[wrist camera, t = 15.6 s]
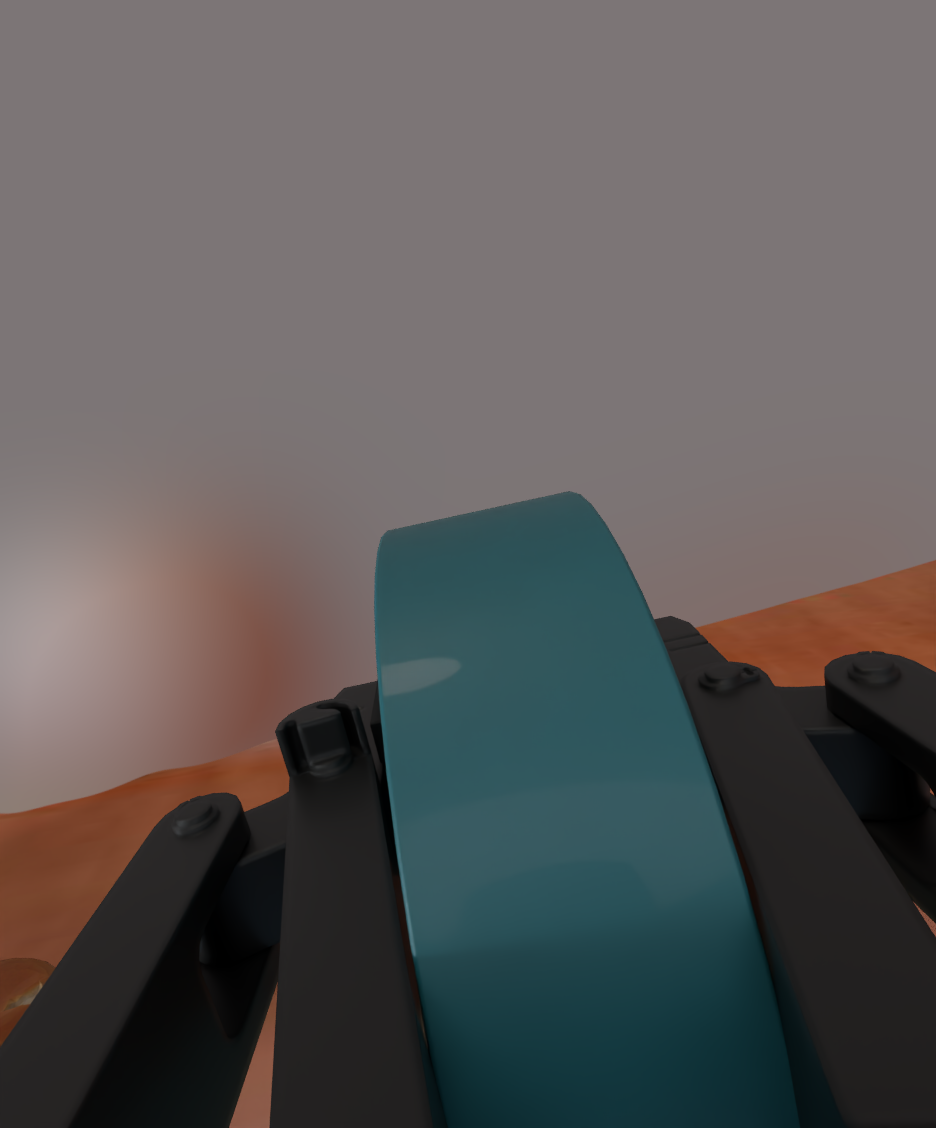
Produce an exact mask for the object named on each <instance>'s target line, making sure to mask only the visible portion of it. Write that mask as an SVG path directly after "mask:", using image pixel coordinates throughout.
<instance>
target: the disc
mask: <svg viewBox="0 0 936 1128" xmlns="http://www.w3.org/2000/svg"><path fill="white" fill-rule="evenodd" d="M374 614H375V643H376V660H377V675H378V689H379V703H380V714H381V724H382V734H383V743H384V753H385V763H386V773H387V781H388V789H389V797H390V805H391V813H392V821H393V829H394V837H395V845H396V852H397V859H398V866H399V873H400V880H401V886H402V893H403V900H404V906H405V913H406V920H407V927H408V933H409V940H410V946H411V952H412V958H413V964H414V969H415V975H416V981H417V987H418V993H419V999H420V1005H421V1010H422V1016H423V1022H424V1028H425V1034H426V1039H427V1044H428V1049H429V1054H430V1058H431V1063H432V1067H433V1071H434V1075H435V1079H436V1083H437V1087H438V1091H439V1095H440V1099H441V1103H442V1107H443V1111H444V1115H445V1119H446V1123H447V1127H448V1128H800V1124H799V1118H798V1112H797V1106H796V1100H795V1094H794V1089H793V1083H792V1077H791V1071H790V1065H789V1059H788V1053H787V1048H786V1043H785V1038H784V1032H783V1027H782V1022H781V1017H780V1011H779V1006H778V1002H777V997H776V993H775V988H774V983H773V979H772V975H771V971H770V967H769V963H768V959H767V956H766V952H765V948H764V945H763V941H762V938H761V934H760V931H759V927H758V924H757V920H756V916H755V913H754V909H753V906H752V902H751V899H750V895H749V891H748V888H747V884H746V881H745V877H744V874H743V870H742V867H741V864H740V861H739V857H738V854H737V851H736V848H735V845H734V841H733V838H732V835H731V832H730V829H729V825H728V822H727V819H726V816H725V813H724V809H723V806H722V803H721V800H720V797H719V793H718V790H717V787H716V784H715V781H714V778H713V775H712V772H711V770H710V767H709V764H708V761H707V758H706V755H705V752H704V749H703V746H702V744H701V741H700V738H699V735H698V732H697V729H696V726H695V723H694V720H693V718H692V715H691V712H690V709H689V706H688V704H687V701H686V699H685V696H684V693H683V691H682V688H681V686H680V683H679V680H678V678H677V675H676V673H675V670H674V667H673V665H672V662H671V660H670V657H669V654H668V652H667V649H666V647H665V644H664V642H663V639H662V637H661V635H660V633H659V630H658V628H657V626H656V623H655V621H654V619H653V616H652V614H651V612H650V609H649V607H648V605H647V602H646V600H645V598H644V595H643V593H642V591H641V589H640V587H639V585H638V583H637V581H636V579H635V577H634V575H633V573H632V571H631V569H630V567H629V565H628V562H627V561H626V559H625V556H624V554H623V553H622V551H621V549H620V547H619V546H618V544H617V542H616V540H615V539H614V537H613V535H612V534H611V532H610V530H609V528H608V527H607V525H606V524H605V522H604V521H603V519H602V518H601V517H600V515H599V514H598V513H597V511H596V510H595V509H594V507H593V506H592V505H591V503H589V502H588V501H587V500H586V499H585V498H584V497H583V496H582V495H581V494H577V493H574V492H570V491H569V492H564V493H559V494H555V495H550V496H546V497H541V498H536V499H532V500H527V501H522V502H518V503H513V504H509V505H504V506H499V507H495V508H490V509H485V510H481V511H476V512H472V513H467V514H463V515H458V516H453V517H449V518H444V519H439V520H435V521H431V522H426V523H421V524H416V525H412V526H407V527H403V528H398V529H394V530H389V531H387V532H386V533H385V534H384V535H383V536H382V537H381V540H380V544H379V547H378V552H377V560H376V570H375V595H374Z"/></svg>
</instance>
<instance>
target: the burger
mask: <svg viewBox="0 0 936 1128" xmlns="http://www.w3.org/2000/svg"><path fill="white" fill-rule="evenodd" d="M54 970H55V967H54V966H52V965H51V964H50V963H48V962H46V961H41V960H37V959H32V958H13V959H8V960H2V961H0V1047H1V1045H2V1044H3V1042H4V1041H5V1039H6V1038H7V1037H8V1035H9V1034H10V1032H11V1031H12V1029H13V1028H14V1027H15V1025H16V1024H17V1022H18V1021H19V1019H20V1018H21V1017H22V1015H23V1014H24V1012H25V1011H26V1009H27V1008H28V1007H29V1005H30V1004H31V1002H32V1001H33V999H34V998H35V997H36V995H37V994H38V992H39V991H40V989H41V988H42V987H43V985H44V984H45V982H46V981H47V980H48V978H49V977H50V975H51V974H52V972H53V971H54Z"/></svg>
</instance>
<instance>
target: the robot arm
mask: <svg viewBox="0 0 936 1128" xmlns="http://www.w3.org/2000/svg"><path fill="white" fill-rule="evenodd" d="M654 621H655V623H656V626H657V628H658V630H659V633H660V635H661V637H662V639H663V642H664V644H665V647H666V649H667V652H668V654H669V657H670V660H671V662H672V665H673V667H674V670H675V673H676V675H677V678H678V680H679V683H680V686H681V688H682V691H683V693H684V696H685V699H686V701H687V704H688V706H689V709H690V712H691V715H692V718H693V720H694V723H695V726H696V729H697V732H698V735H699V738H700V741H701V744H702V746H703V749H704V752H705V755H706V758H707V761H708V764H709V767H710V770H711V772H712V775H713V778H714V781H715V784H716V787H717V790H718V793H719V797H720V800H721V803H722V806H723V809H724V813H725V816H726V819H727V822H728V825H729V829H730V832H731V835H732V838H733V841H734V845H735V848H736V851H737V854H738V857H739V861H740V864H741V867H742V870H743V874H744V877H745V881H746V884H747V888H748V891H749V895H750V899H751V902H752V906H753V909H754V913H755V916H756V920H757V924H758V927H759V931H760V934H761V938H762V941H763V945H764V948H765V952H766V956H767V959H768V963H769V967H770V971H771V975H772V979H773V983H774V988H775V993H776V997H777V1002H778V1006H779V1011H780V1017H781V1022H782V1027H783V1032H784V1038H785V1043H786V1048H787V1053H788V1059H789V1065H790V1071H791V1077H792V1083H793V1089H794V1094H795V1100H796V1106H797V1112H798V1118H799V1124H800V1128H936V937H935V935H934V934H933V932H932V931H931V929H930V928H929V926H928V925H927V923H926V921H925V920H924V918H923V917H922V915H921V914H920V912H919V911H918V909H917V907H916V906H915V904H916V905H917V906H918V907H919V908H920V909H921V910H922V911H923V912H924V913H926V914H927V915H928V916H929V917H930V918H931V919H932V920H933V921H934V922H935V923H936V672H934V671H932V670H930V669H928V668H927V667H925V666H923V665H921V664H919V663H917V662H915V661H913V660H910V659H907V658H905V657H902V656H898V655H892V654H886V653H884V652H877V651H872V653H870V652H869V651H866V652H858V653H857V654H850V655H845V656H842V657H840V658H837V659H834V660H832V661H831V662H830V663H829V664H828V665H827V666H826V667H825V673H824V676H825V686H810V687H778V686H774V684H773V683H772V681H771V680H770V678H769V677H768V675H767V674H766V673H765V672H764V671H762V670H761V669H760V668H758V667H755V666H752V665H750V664H747V663H739V662H728V661H727V660H726V659H725V658H724V657H723V656H722V655H721V654H720V653H719V652H718V651H717V650H716V649H715V648H714V647H713V646H712V645H711V644H710V643H708V641H707V640H706V639H705V638H704V637H703V636H702V635H700V633H699V632H698V631H697V630H696V629H695V628H694V627H693V626H692V625H691V624H690V623H689V622H686V621H683V620H681V619H678V618H675V617H672V616H668V617H664V618H659V619H654ZM275 733H276V736H277V739H278V742H279V745H280V749H281V752H282V755H283V758H284V761H285V764H286V767H287V770H288V774H289V777H290V781H289V792H287V793H286V794H284V795H283V796H281V797H279V798H277V799H275V800H272V801H270V802H268V803H266V804H263V805H261V806H258V807H256V808H253V809H251V810H248V811H246V812H244V811H243V808H242V805H241V802H240V801H239V799H238V797H237V796H236V795H232V794H229V793H212V794H208V795H205V796H197V797H195V798H192V799H190V801H188V800H187V801H186V802H184V803H182V804H180V805H179V806H178V807H177V808H175V809H174V810H172V811H171V812H170V813H168V814H167V815H165V816H164V817H163V818H162V819H161V820H160V821H159V823H158V824H157V825H156V826H155V827H154V828H153V830H152V831H151V833H150V834H149V835H148V837H147V838H146V840H145V841H144V843H143V844H142V845H141V847H140V848H139V850H138V851H137V853H136V854H135V855H134V857H133V858H132V860H131V861H130V863H129V864H128V865H127V867H126V868H125V870H124V871H123V873H122V874H121V875H120V877H119V878H118V880H117V881H116V882H115V884H114V885H113V887H112V888H111V890H110V891H109V892H108V894H107V895H106V897H105V898H104V900H103V901H102V902H101V904H100V905H99V907H98V908H97V910H96V911H95V912H94V914H93V915H92V917H91V918H90V920H89V921H88V922H87V924H86V925H85V927H84V928H83V930H82V931H81V932H80V934H79V935H78V937H77V938H76V940H75V941H74V942H73V944H72V945H71V947H70V948H69V950H68V951H67V952H66V954H65V955H64V957H63V958H62V960H61V961H60V962H59V964H58V965H57V967H56V968H55V970H54V971H53V972H52V974H51V975H50V977H49V978H48V980H47V981H46V982H45V984H44V985H43V987H42V988H41V989H40V991H39V992H38V994H37V995H36V997H35V998H34V999H33V1001H32V1002H31V1004H30V1005H29V1007H28V1008H27V1009H26V1011H25V1012H24V1014H23V1015H22V1017H21V1018H20V1019H19V1021H18V1022H17V1024H16V1025H15V1027H14V1028H13V1029H12V1031H11V1032H10V1034H9V1035H8V1037H7V1038H6V1039H5V1041H4V1042H3V1044H2V1045H1V1047H0V1128H229V1126H230V1123H231V1120H232V1117H233V1114H234V1111H235V1108H236V1105H237V1102H238V1099H239V1096H240V1093H241V1090H242V1087H243V1084H244V1081H245V1078H246V1075H247V1072H248V1069H249V1066H250V1063H251V1060H252V1057H253V1054H254V1051H255V1048H256V1045H257V1042H258V1039H259V1036H260V1033H261V1030H262V1027H263V1024H264V1021H265V1018H266V1015H267V1012H268V1009H269V1006H270V1003H271V1000H272V997H273V994H274V991H275V988H276V985H277V982H278V990H277V1008H276V1025H275V1042H274V1060H273V1077H272V1095H271V1112H270V1128H448V1127H447V1123H446V1119H445V1115H444V1111H443V1107H442V1103H441V1099H440V1095H439V1091H438V1087H437V1083H436V1079H435V1075H434V1071H433V1067H432V1063H431V1058H430V1054H429V1049H428V1044H427V1039H426V1034H425V1028H424V1022H423V1016H422V1010H421V1005H420V999H419V993H418V987H417V981H416V975H415V969H414V964H413V958H412V952H411V946H410V940H409V933H408V927H407V920H406V913H405V906H404V900H403V893H402V886H401V880H400V873H399V866H398V859H397V852H396V845H395V837H394V829H393V821H392V813H391V805H390V797H389V789H388V781H387V773H386V763H385V753H384V743H383V734H382V724H381V714H380V703H379V689H378V680H377V681H375V682H370V683H366V684H362V685H357V686H352V687H347V688H344V689H343V690H342V691H341V692H340V693H339V694H338V695H337V696H336V697H335V698H334V699H329V700H324V701H319V702H315V703H313V704H310V705H307V706H304V707H302V708H300V709H298V710H296V711H295V712H293V713H291V714H290V715H288V716H287V717H286V718H285V719H283V720H282V721H281V722H280V723H279V725H278V727H277V729H276V731H275ZM930 788H931V790H932V791H933V793H934V795H935V796H934V795H933V794H931V793H930ZM913 902H914V903H915V904H914V903H913Z"/></svg>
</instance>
